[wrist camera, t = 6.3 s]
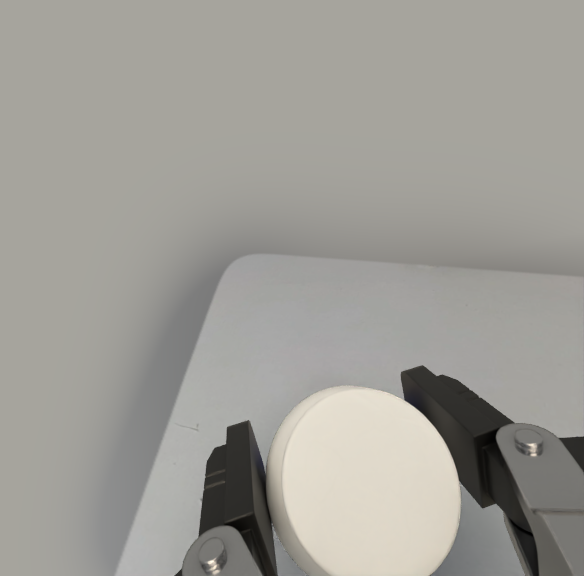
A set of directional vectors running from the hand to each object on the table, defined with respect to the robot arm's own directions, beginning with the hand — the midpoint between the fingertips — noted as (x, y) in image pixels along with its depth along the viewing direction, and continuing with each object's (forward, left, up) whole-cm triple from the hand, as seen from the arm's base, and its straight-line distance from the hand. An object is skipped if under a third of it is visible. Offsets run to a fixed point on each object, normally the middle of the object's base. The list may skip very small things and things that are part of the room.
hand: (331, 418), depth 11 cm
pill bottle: (0, -2, -6) cm, 7 cm away
